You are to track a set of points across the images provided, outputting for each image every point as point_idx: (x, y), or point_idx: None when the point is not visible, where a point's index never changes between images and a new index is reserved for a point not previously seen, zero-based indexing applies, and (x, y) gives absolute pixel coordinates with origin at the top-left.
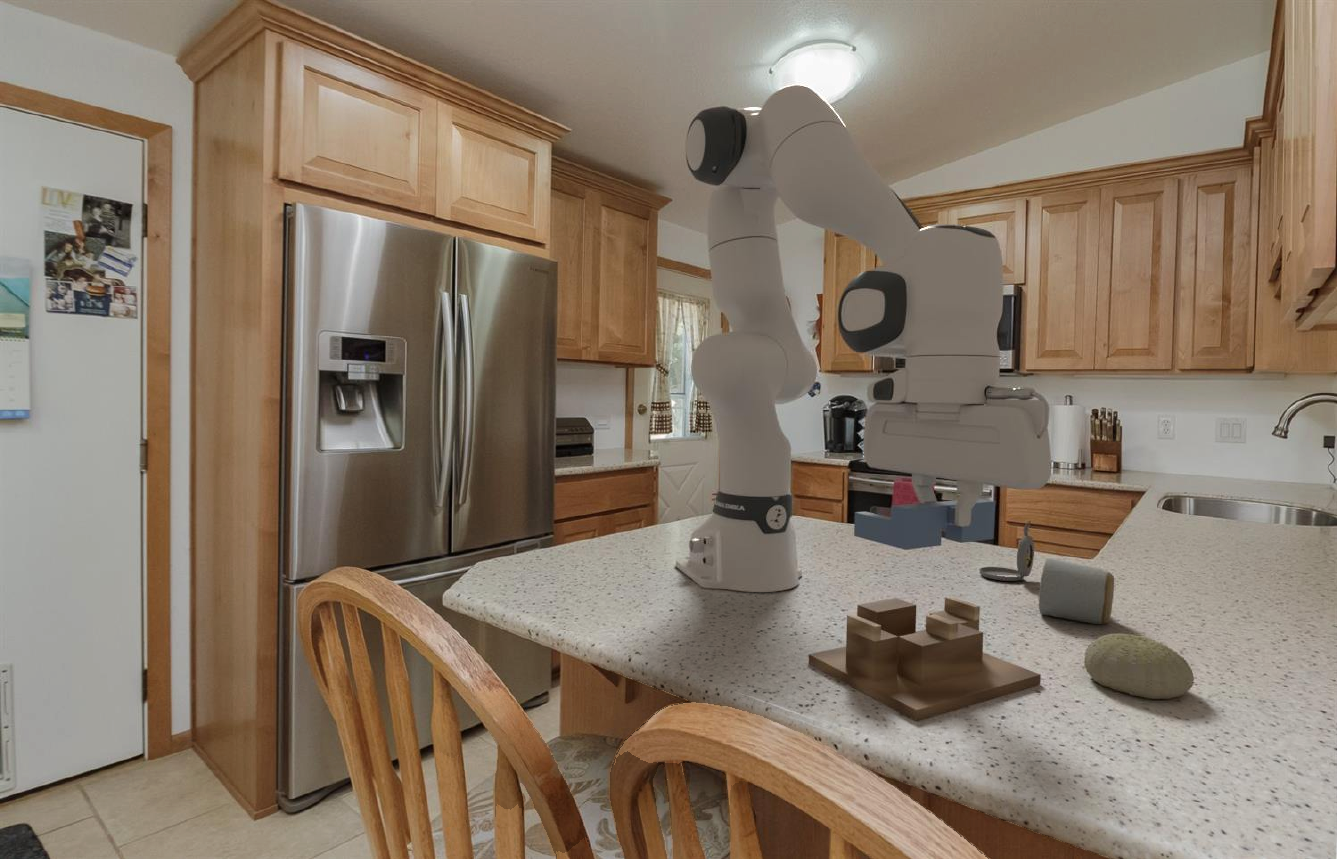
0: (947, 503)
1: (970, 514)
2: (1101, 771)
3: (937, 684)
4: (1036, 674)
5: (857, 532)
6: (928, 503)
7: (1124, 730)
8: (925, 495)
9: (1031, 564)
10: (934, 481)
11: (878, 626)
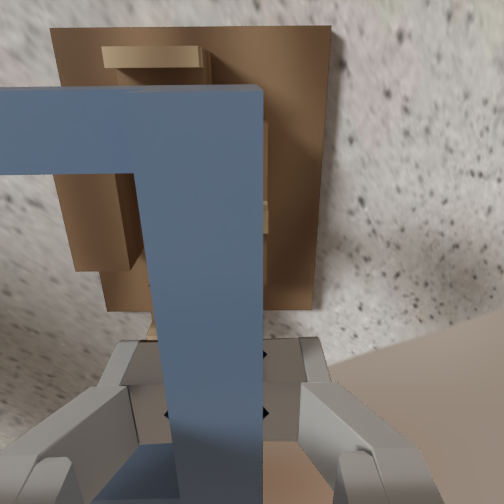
0: (221, 412)
1: (324, 363)
2: (499, 218)
3: (271, 230)
4: (327, 34)
5: None
6: (194, 474)
7: (488, 77)
8: (113, 460)
9: None
10: (67, 485)
11: None
